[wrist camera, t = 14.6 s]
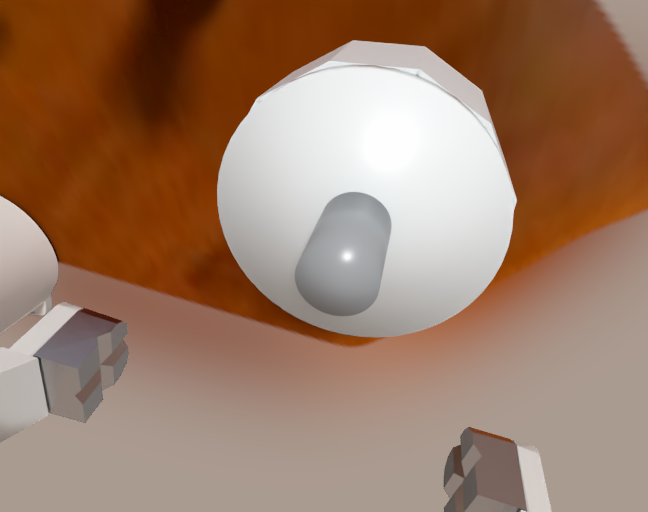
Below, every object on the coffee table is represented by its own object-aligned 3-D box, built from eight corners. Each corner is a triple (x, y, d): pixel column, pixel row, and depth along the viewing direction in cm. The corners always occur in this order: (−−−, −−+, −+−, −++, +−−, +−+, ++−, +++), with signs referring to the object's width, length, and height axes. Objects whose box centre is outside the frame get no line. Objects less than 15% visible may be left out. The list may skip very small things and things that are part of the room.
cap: (324, 290, 28) (275, 425, 20) (220, 110, 23) (101, 189, 15) (528, 230, 23) (573, 375, 15) (448, -11, 19) (450, 12, 11)
